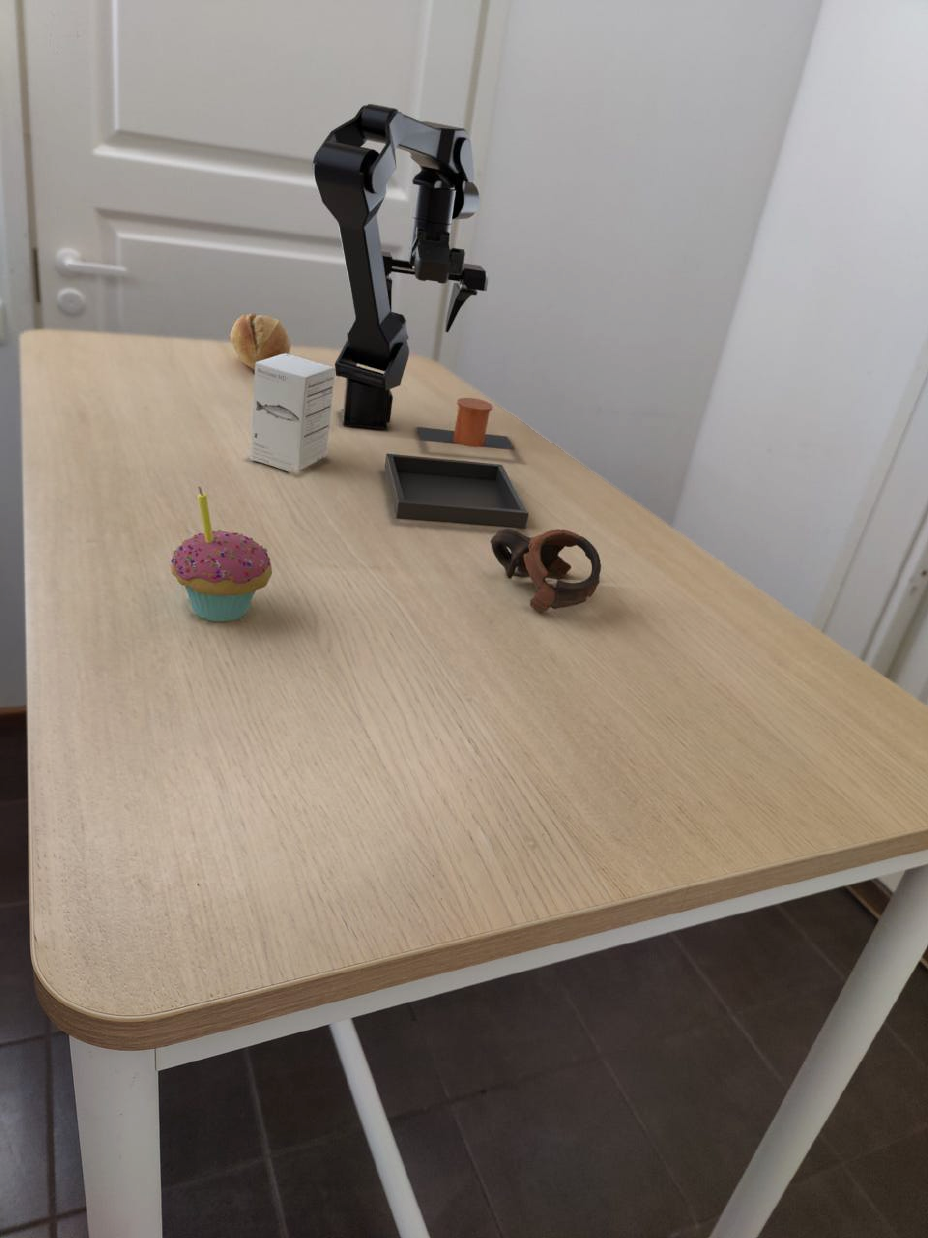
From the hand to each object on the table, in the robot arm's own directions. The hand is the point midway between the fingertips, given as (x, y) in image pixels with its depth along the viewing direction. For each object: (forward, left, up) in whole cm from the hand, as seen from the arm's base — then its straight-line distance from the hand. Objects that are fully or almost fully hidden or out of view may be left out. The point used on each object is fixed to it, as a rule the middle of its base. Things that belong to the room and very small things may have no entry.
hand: (417, 327), depth 138 cm
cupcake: (-25, -69, -12) cm, 74 cm away
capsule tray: (+1, -40, -12) cm, 42 cm away
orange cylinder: (+7, -18, -12) cm, 23 cm away
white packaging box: (-19, -31, -12) cm, 38 cm away
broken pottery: (+7, -62, -12) cm, 63 cm away
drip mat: (+7, -18, -12) cm, 23 cm away
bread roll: (-24, +12, -12) cm, 29 cm away
